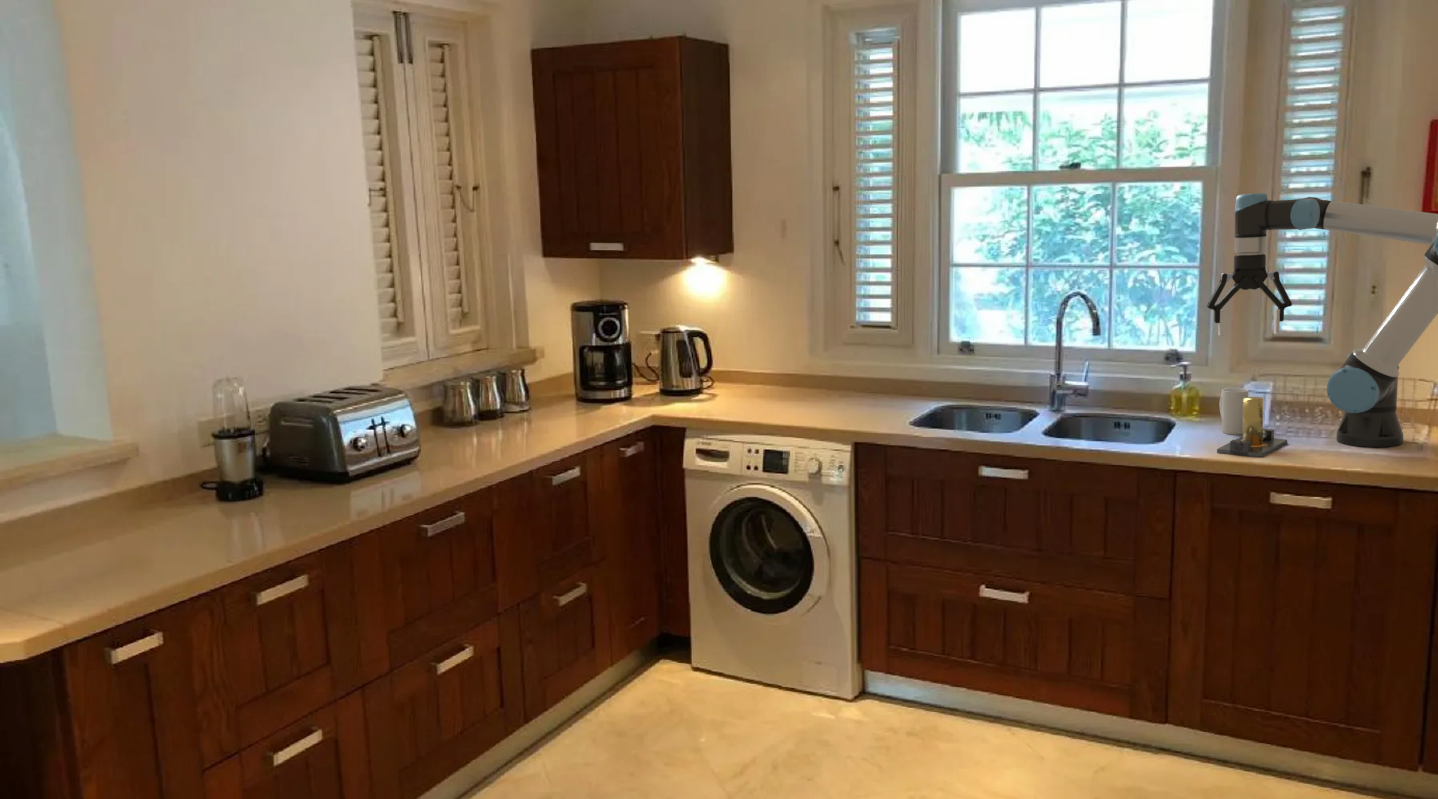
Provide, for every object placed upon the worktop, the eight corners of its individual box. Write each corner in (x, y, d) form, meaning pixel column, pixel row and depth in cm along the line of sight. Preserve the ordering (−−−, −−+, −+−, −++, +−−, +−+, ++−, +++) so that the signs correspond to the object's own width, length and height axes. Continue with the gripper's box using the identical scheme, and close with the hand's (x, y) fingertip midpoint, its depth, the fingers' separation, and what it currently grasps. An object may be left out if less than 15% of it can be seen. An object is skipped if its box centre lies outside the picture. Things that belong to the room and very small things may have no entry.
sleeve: (1265, 442, 301) (1266, 397, 299) (1258, 446, 297) (1259, 400, 295) (1246, 441, 304) (1246, 396, 302) (1239, 444, 301) (1239, 399, 299)
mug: (1253, 433, 318) (1254, 390, 316) (1231, 435, 316) (1231, 392, 314) (1230, 427, 327) (1231, 385, 325) (1209, 429, 326) (1209, 387, 324)
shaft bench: (1243, 439, 311) (1244, 426, 311) (1287, 443, 304) (1287, 430, 303) (1216, 452, 298) (1217, 439, 297) (1261, 457, 290) (1261, 444, 290)
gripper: (1298, 250, 301) (1296, 331, 304) (1196, 254, 307) (1195, 334, 310) (1306, 252, 294) (1303, 335, 297) (1201, 256, 300) (1200, 337, 303)
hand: (1248, 334), depth 304 cm, fingers open, 13 cm apart
